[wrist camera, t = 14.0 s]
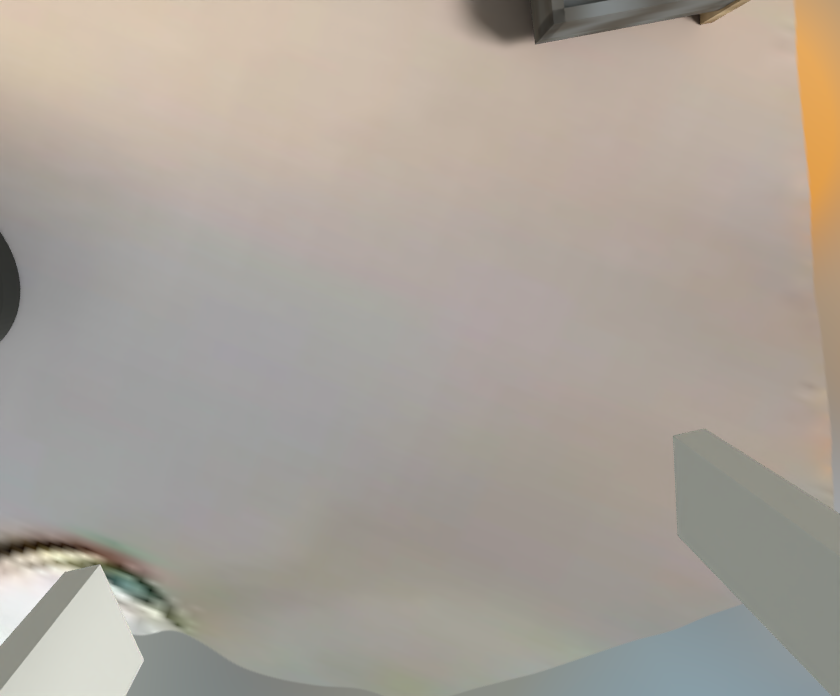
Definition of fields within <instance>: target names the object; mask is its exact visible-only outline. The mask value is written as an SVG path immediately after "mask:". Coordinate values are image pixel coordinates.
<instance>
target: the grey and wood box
mask: <svg viewBox="0 0 840 696" xmlns="http://www.w3.org/2000/svg"><path fill="white" fill-rule="evenodd" d="M748 1H750V0H530V2H531V11H532V20H533V30H534V39H535V44H540V43H546V42H551V41H556V40H562V39H567V38H572V37H578V36H583V35H589V34H594V33H599V32H605V31H610V30H616V29H621V28H626V27H632V26H637V25H642V24H648V23H653V22H659V21H664V20H669V19H675V18H680V17H685V16H691V15H696V14H700V25H701V24H707V23H712V22H714V21H715V20H717V19H719V18H721V17H722V16H724V15H726V14H727V13H729V12H731V11H733V10H734V9H736V8H738V7H739V6H741V5H743V4H745V3H746V2H748Z"/></svg>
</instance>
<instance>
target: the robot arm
mask: <svg viewBox="0 0 840 696" xmlns="http://www.w3.org/2000/svg"><path fill="white" fill-rule="evenodd" d="M19 301H20V281H19V275H18V270H17V266H16V263H15V260H14V257H13V255H12V252H11V250H10V248H9V246H8V244H7V243H6V241H5V239H4V237H3V236H2V234H1V233H0V341H1V340H2V339H3V338H4V337H5V335H6V334H7V333H8V331H9V330H10V328H11V326H12V324H13V322H14V320H15V317H16V315H17V311H18V307H19ZM673 447H674V468H675V489H676V511H677V532H678V536H679V537H680V539H681V540H682V541H683V542H684V543H685V544H686V545H687V546H688V547H689V548H690V549H691V550H692V551H693V552H694V553H695V554H696V555H697V556H698V557H699V558H700V559H701V560H702V561H703V562H704V563H705V565H706V566H707V567H708V568H709V569H710V570H711V571H712V572H713V573H714V574H715V575H716V576H717V577H718V578H719V579H720V580H721V581H722V582H723V583H724V584H725V585H726V586H727V587H728V588H729V589H730V591H731V592H732V593H733V594H734V595H735V596H736V597H737V598H738V599H739V600H740V601H741V602H742V603H743V604H744V605H745V606H746V607H747V608H748V609H749V610H750V611H751V612H752V613H753V614H754V615H755V616H756V617H757V618H758V620H759V621H760V622H761V623H762V624H763V625H764V626H765V627H766V628H767V629H768V630H769V631H770V632H771V633H772V634H773V635H774V636H775V637H776V638H777V639H778V640H779V641H780V642H781V643H782V644H783V646H784V647H785V648H786V649H787V650H788V651H789V652H790V653H791V654H792V655H793V656H794V657H795V658H796V659H797V660H798V661H799V662H800V663H801V664H802V665H803V666H804V667H805V668H806V670H808V672H809V673H810V674H811V675H812V676H813V677H814V678H815V679H816V680H817V681H818V682H819V683H820V684H821V685H822V686H823V687H824V688H825V689H826V690H827V691H828V692H829V693H830V694H831V695H832V696H840V514H839V513H837V512H836V511H834V510H833V509H831V508H830V507H828V506H826V505H825V504H823V503H822V502H820V501H818V500H817V499H815V498H814V497H812V496H811V495H809V494H807V493H806V492H804V491H803V490H801V489H800V488H798V487H796V486H795V485H793V484H792V483H790V482H788V481H787V480H785V479H784V478H782V477H781V476H779V475H777V474H776V473H774V472H773V471H771V470H769V469H768V468H766V467H765V466H763V465H762V464H760V463H758V462H757V461H755V460H754V459H752V458H750V457H749V456H747V455H746V454H744V453H743V452H741V451H739V450H738V449H736V448H735V447H733V446H731V445H730V444H728V443H727V442H725V441H724V440H722V439H720V438H719V437H717V436H716V435H714V434H713V433H711V432H709V431H708V430H706V429H701V430H696V431H692V432H687V433H683V434H678V435H674V436H673ZM143 661H144V659H143V657H142V655H141V652H140V650H139V648H138V646H137V644H136V642H135V639H134V637H133V635H132V633H131V631H130V628H129V626H128V624H127V622H126V620H125V617H124V615H123V613H122V611H121V609H120V607H119V604H118V602H117V600H116V598H115V596H114V593H113V591H112V589H111V587H110V585H109V583H108V580H107V578H106V576H105V574H104V572H103V569H102V567H101V565H100V564H99V565H95V566H90V567H86V568H81V569H77V570H72V571H68V572H65V573H64V574H63V575H62V576H61V577H60V578H59V580H58V581H57V582H56V583H55V584H54V585H53V586H52V588H51V589H50V590H49V591H48V592H47V593H46V594H45V596H44V597H43V598H42V599H41V600H40V601H39V602H38V604H37V605H36V606H35V607H34V608H33V609H32V610H31V612H30V613H29V614H28V615H27V616H26V617H25V618H24V620H23V621H22V622H21V623H20V624H19V625H18V626H17V628H16V629H15V630H14V631H13V632H12V633H11V635H10V636H9V637H8V638H7V639H6V640H5V641H4V643H3V644H2V645H1V646H0V696H126V694H127V692H128V690H129V688H130V686H131V684H132V682H133V680H134V678H135V676H136V675H137V673H138V671H139V669H140V667H141V665H142V663H143Z"/></svg>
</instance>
